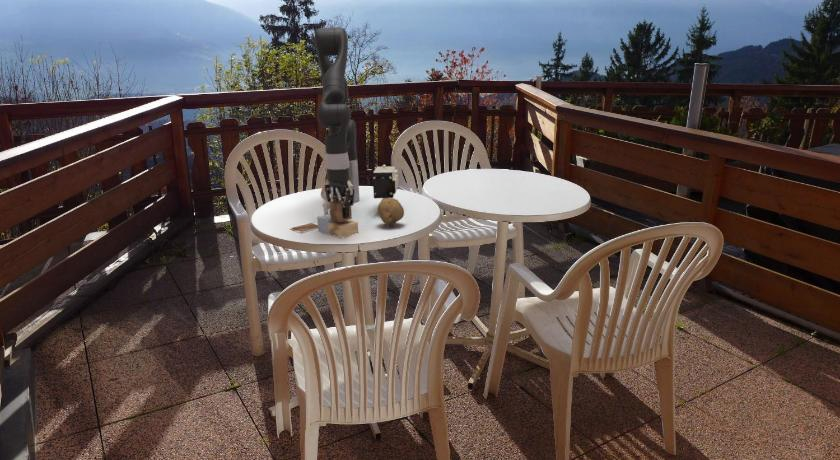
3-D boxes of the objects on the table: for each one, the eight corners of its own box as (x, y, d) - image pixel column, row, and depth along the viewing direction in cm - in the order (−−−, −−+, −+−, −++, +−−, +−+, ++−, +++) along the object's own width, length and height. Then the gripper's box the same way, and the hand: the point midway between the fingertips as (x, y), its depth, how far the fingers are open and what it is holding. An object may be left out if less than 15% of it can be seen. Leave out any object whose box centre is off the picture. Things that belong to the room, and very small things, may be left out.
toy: (358, 209, 224) (355, 171, 219) (335, 222, 206) (332, 181, 202) (337, 208, 227) (334, 170, 222) (313, 220, 209) (310, 180, 205)
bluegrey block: (317, 217, 195) (328, 219, 191) (328, 214, 199) (339, 216, 195) (318, 231, 197) (329, 234, 193) (329, 227, 200) (340, 230, 196)
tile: (289, 229, 199) (289, 227, 199) (311, 223, 205) (311, 222, 205) (301, 233, 194) (300, 231, 194) (323, 227, 200) (323, 225, 200)
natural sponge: (403, 221, 205) (402, 194, 202) (405, 228, 197) (404, 200, 194) (377, 223, 204) (376, 195, 201) (379, 230, 196) (378, 201, 193)
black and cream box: (396, 216, 212) (394, 169, 207) (373, 216, 212) (371, 169, 207) (400, 204, 229) (399, 160, 224) (379, 204, 230) (377, 161, 225)
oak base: (329, 234, 193) (328, 223, 191) (344, 230, 198) (343, 218, 196) (342, 238, 188) (341, 227, 187) (358, 233, 193) (357, 222, 192)
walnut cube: (330, 219, 192) (329, 202, 190) (342, 216, 195) (341, 199, 194) (339, 222, 189) (338, 204, 187) (351, 218, 192) (350, 201, 190)
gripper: (315, 165, 189) (319, 215, 194) (341, 170, 179) (345, 222, 184) (334, 162, 194) (337, 210, 199) (360, 167, 184) (363, 218, 189)
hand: (341, 216), depth 192 cm, fingers closed on walnut cube, 5 cm apart
